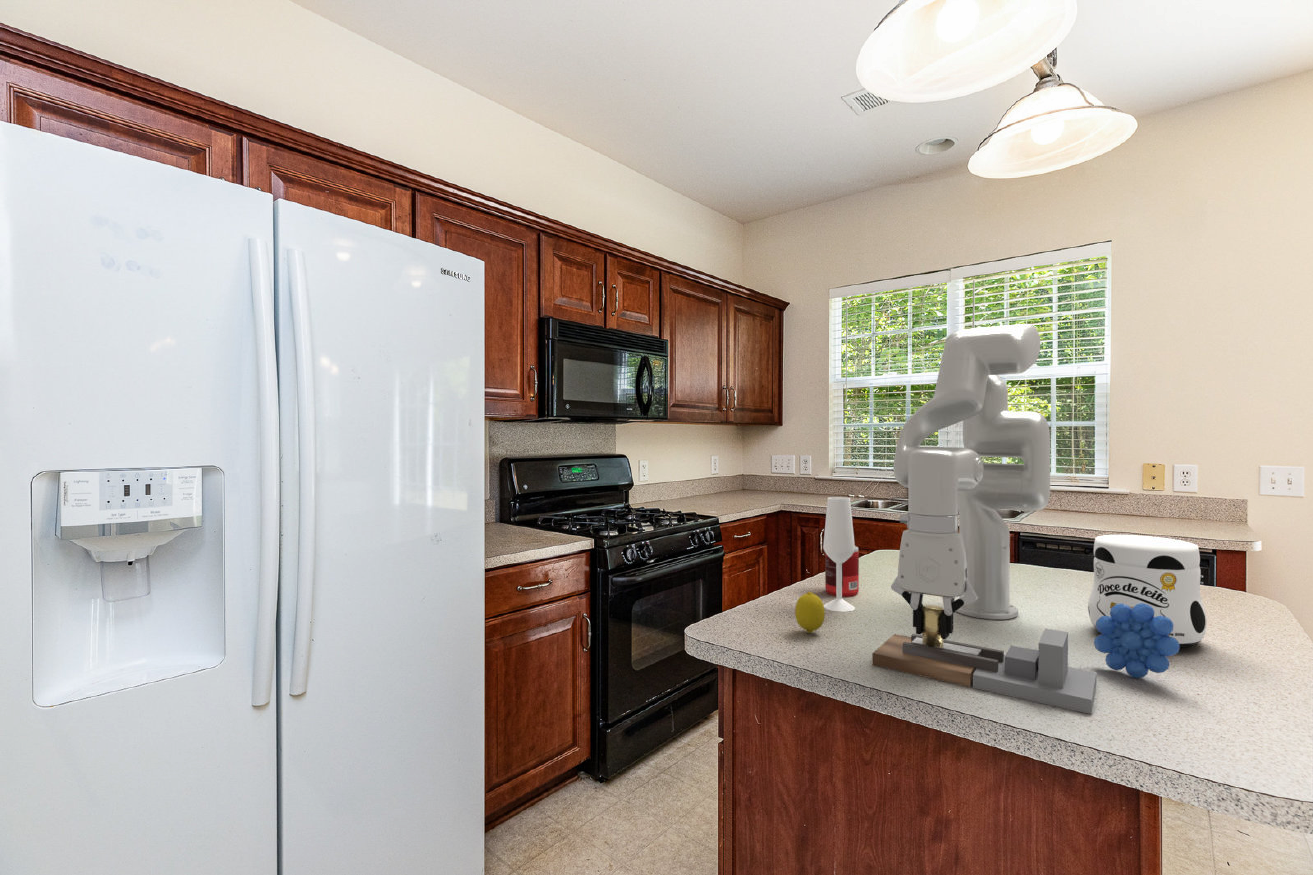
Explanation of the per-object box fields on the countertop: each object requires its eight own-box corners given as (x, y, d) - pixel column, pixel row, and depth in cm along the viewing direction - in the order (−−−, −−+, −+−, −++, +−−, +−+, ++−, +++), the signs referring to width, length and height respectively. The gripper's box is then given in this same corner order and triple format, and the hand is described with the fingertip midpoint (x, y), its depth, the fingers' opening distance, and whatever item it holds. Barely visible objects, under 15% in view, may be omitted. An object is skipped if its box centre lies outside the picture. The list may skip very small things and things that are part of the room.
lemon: (825, 638, 117) (825, 596, 117) (795, 637, 118) (795, 595, 118) (823, 629, 123) (823, 588, 122) (795, 627, 124) (794, 587, 124)
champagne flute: (825, 601, 142) (824, 496, 141) (856, 604, 139) (855, 497, 139) (821, 609, 136) (821, 499, 135) (854, 613, 133) (853, 500, 133)
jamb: (987, 663, 104) (988, 615, 104) (1096, 685, 95) (1096, 633, 95) (972, 687, 95) (972, 635, 95) (1091, 714, 86) (1091, 656, 86)
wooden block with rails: (894, 644, 114) (894, 625, 114) (1007, 667, 103) (1007, 645, 103) (872, 665, 104) (872, 643, 104) (993, 692, 93) (993, 668, 93)
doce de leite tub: (1104, 648, 111) (1105, 547, 111) (1076, 620, 127) (1076, 531, 127) (1226, 660, 105) (1227, 553, 105) (1181, 628, 121) (1181, 536, 121)
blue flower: (1193, 685, 95) (1194, 607, 95) (1170, 694, 92) (1170, 613, 92) (1109, 660, 105) (1109, 589, 105) (1085, 667, 102) (1086, 594, 102)
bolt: (916, 645, 107) (916, 602, 107) (981, 658, 101) (981, 613, 101) (911, 651, 104) (911, 607, 104) (977, 664, 98) (977, 617, 98)
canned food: (859, 589, 152) (859, 544, 152) (858, 598, 144) (858, 551, 144) (826, 587, 154) (826, 543, 154) (824, 595, 147) (824, 549, 147)
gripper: (875, 522, 106) (875, 631, 106) (983, 532, 96) (983, 651, 96) (889, 517, 112) (889, 620, 112) (992, 525, 102) (992, 638, 102)
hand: (932, 633), depth 104 cm, fingers closed on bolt, 3 cm apart
